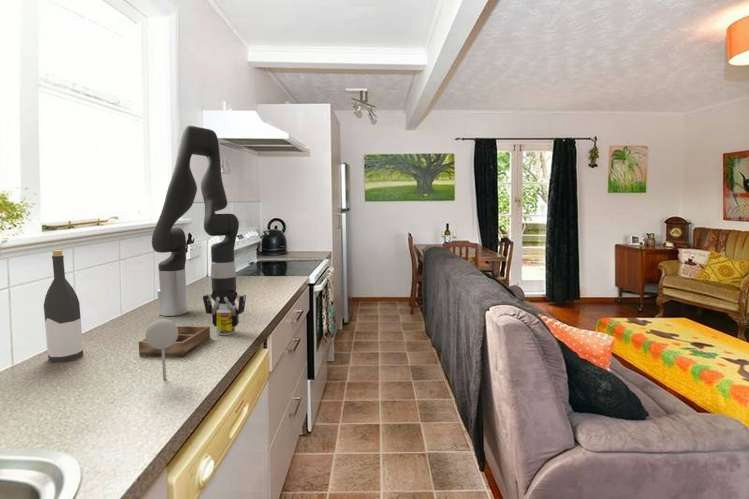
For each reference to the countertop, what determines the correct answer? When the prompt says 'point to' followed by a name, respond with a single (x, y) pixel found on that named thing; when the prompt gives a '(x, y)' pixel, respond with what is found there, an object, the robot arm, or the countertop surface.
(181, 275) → the robot arm
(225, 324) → the supplement bottle
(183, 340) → the walnut crate
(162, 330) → the lollipop
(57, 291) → the wine bottle
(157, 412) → the countertop surface
